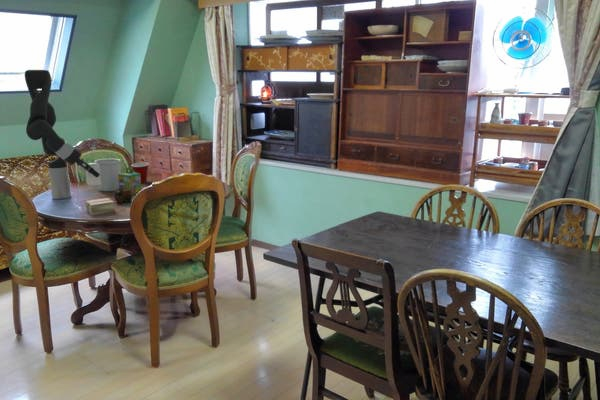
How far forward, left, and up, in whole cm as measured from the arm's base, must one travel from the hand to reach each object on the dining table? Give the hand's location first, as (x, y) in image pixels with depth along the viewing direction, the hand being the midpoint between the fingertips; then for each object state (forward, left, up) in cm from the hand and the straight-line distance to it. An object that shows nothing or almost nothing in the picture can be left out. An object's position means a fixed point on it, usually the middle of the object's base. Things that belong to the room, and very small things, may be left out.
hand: (96, 175), depth 247 cm
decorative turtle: (-19, +4, -18) cm, 27 cm away
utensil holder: (-50, -18, -18) cm, 57 cm away
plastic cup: (-71, -7, -18) cm, 74 cm away
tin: (+1, -1, -4) cm, 5 cm away
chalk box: (-40, -1, -18) cm, 44 cm away
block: (+1, +1, -18) cm, 18 cm away
